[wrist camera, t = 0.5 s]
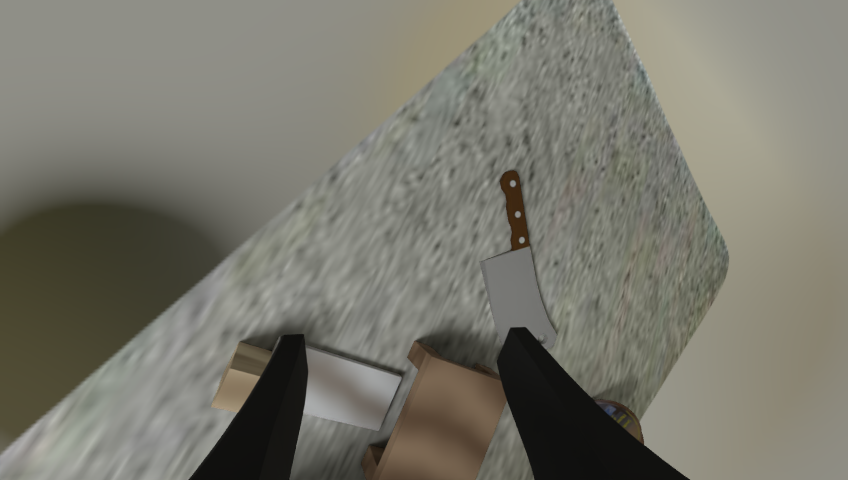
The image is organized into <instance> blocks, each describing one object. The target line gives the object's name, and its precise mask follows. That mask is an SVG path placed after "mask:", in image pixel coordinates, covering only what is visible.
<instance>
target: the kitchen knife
mask: <svg viewBox="0 0 848 480" xmlns="http://www.w3.org/2000/svg"><path fill="white" fill-rule="evenodd" d="M500 185H501V189H502V190H503V192H504V193H505V195H506V201H507V203H506V210H507V215H508V221H509V224H510V226H511V231H512V235H511V245H512V248H511V250H510V251H508V252H505V253H502V254H500V255H497V256H495V257H492V258H489V259H487V260H484V261H481V262H480V266H481V270H482V274H483V278H484V282H485V286H486V291H487V295H488V299H489V303H490V307H491V311H492V315H493V319H494V323H495V326H496V329H497V332H498V335H499V338H500V341H501V344H502V347H503V345H504V342H505V339H506V337H507V334H508V332H509V329H510V327H526V328H527V329H528V330H529V331H530V332H531V333H532V334H533V336H534V337H535V338H536V339H537V340H538V338H539V336H540V335H542V334H544V340H543V341H542V342H541V345H542V346H543V347H544V348H545V349H548V348H550V347H553V346H554V343H555V340H556V337H557V334H556V332H555V330H554V329H553V327H552V325H551V323H550V322H549V319H548V317H547V314H546V312H545V309H544V306H543V304H542V301H541V297H540V293H539V289H538V285H537V282H536V277H535V271H534V266H533V260H532V255H531V249H530V244H529V238H528V231H527V225H526V218H525V212H524V205H523V199H522V193H521V186H520V180H519V176H518V174H517V172H516V171H514V170H512V171H507V172H505V173H504V174H503V175H502V177H501V180H500Z"/></svg>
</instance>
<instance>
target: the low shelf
mask: <svg viewBox="0 0 848 480" xmlns="http://www.w3.org/2000/svg"><path fill="white" fill-rule="evenodd" d="M407 358H408V359H409V360H410V361H411V362H412V363H413V365H414V366H415V367H416V368H417V369H418V370H419V372H418V374H417V376H416V379H415V381H414V383H413V386H412V388H411V390H410V393H409V395H408V397H407V399H406V402H405V404H404V406H403V409H402V411H401V413H400V416H399V418H398V420H397V423H396V425H395V427H394V430H393V432H392V434H391V437H390V439H389V441H388V444H387V446H386V448H380V447H375V446H371V445H369V446H368V448H367V451H366V453H365V455H364V458H363V460H362V462H361V465H362V468H363V471H364V474H365V477H366V480H475V479H476V477H477V474H478V472H479V469H480V467H481V464H482V462H483V459H484V457H485V454H486V452H487V449H488V447H489V444H490V442H491V439H492V437H493V434H494V431H495V429H496V426H497V424H498V421H499V419H500V416H501V414H502V411H503V409H504V406H505V404H506V401H507V399H506V396H505V393H504V390H503V386H502V382H501V378H500V375H498V374H497V373H495V372H494V371H493V370H491V369H490V368H488V367H485V366H483V365H480V364H476V366H475V369H473V368H470V367H467V366H464V365H462V364H459V363H456V362H453V361H450V360H448V359H445V358H442V357H441V356H440V355H439V354H438V353H437V352H436V351H434V350H433V349H432V348H431V347H430V346H428V345H425V344H422V343H420V342H417V341H414V343H413V346H412V348H411V350H410V352H409V355H408V357H407Z"/></svg>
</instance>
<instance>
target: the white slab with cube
mask: <svg viewBox="0 0 848 480" xmlns="http://www.w3.org/2000/svg"><path fill="white" fill-rule="evenodd" d="M280 338H281V337H278V339H277V342H276V344H275V346H274V348H273V350H272V351H269V350H266V349H262V348H259V347H256V346H252V345H249V344H246V343H242V342H239V343H238V345H237V347H236V349H235V351H234V353H233V355H232V357H231V359H230V361H229V363H228V365H227V367H226V369H225V371H224V374H223V376H222V379H221V382H220V384H219V387H218V390H217V392H216V395H215V397H214V400H213V403H212V405H211V407H215V408H219V409H224V410H229V411H233V412H239V410H240V409H241V407H242V406H243V404H244V403H245V401H246V399H247V398H248V396H249V395H250V393H251V391H252V390H253V388H254V386H255V385H256V383H257V381H258V380H259V378H260V376H261V375H262V373H263V371H264V369H265V368H266V366H267V364H268V362H269V360H270V359H271V357H272V355H273V353H274V351H275V349H276V347H277V345H278V343H279V340H280ZM305 347H306V355H307V363H308V371H309V372H308V382H307V391H306V400H305V406H304V411H303V414H308V415H312V416H316V417H321V418H325V419H329V420H333V421H338V422H342V423H346V424H350V425H355V426H359V427H363V428H367V429H372V430H376V431H379V429H380V427H381V424H382V422H383V420H384V417H385V415H386V413H387V411H388V408H389V406H390V404H391V401H392V399H393V397H394V394H395V392H396V390H397V388H398V385H399V383H400V381H401V378H402V377H401V376H400V374H397V373H393V372H390V371H387V370H384V369H381V368H378V367H374V366H371V365H368V364H365V363H362V362H358V361H355V360H352V359H349V358H346V357H343V356H339V355H336V354H333V353H330V352H327V351H324V350H320V349H317V348H314V347H311V346H308V345H305Z"/></svg>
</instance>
